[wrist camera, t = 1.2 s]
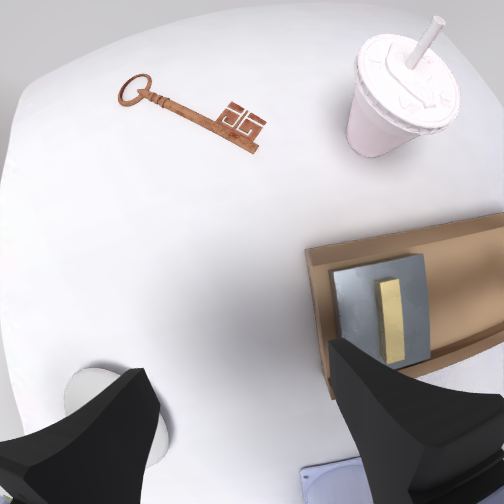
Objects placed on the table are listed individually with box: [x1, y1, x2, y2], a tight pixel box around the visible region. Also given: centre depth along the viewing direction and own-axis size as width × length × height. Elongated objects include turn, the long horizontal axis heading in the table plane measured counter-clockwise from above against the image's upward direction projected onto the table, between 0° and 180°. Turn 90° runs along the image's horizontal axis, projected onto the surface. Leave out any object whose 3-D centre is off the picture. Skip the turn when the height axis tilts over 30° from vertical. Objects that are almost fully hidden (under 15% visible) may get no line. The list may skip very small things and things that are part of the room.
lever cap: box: [328, 253, 430, 369], centre depth 17 cm, size 7×6×3 cm
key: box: [118, 74, 266, 154], centre depth 23 cm, size 6×1×15 cm
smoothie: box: [346, 16, 461, 158], centre depth 14 cm, size 6×6×14 cm
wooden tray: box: [305, 212, 504, 400], centre depth 19 cm, size 10×20×4 cm, turn 101°
